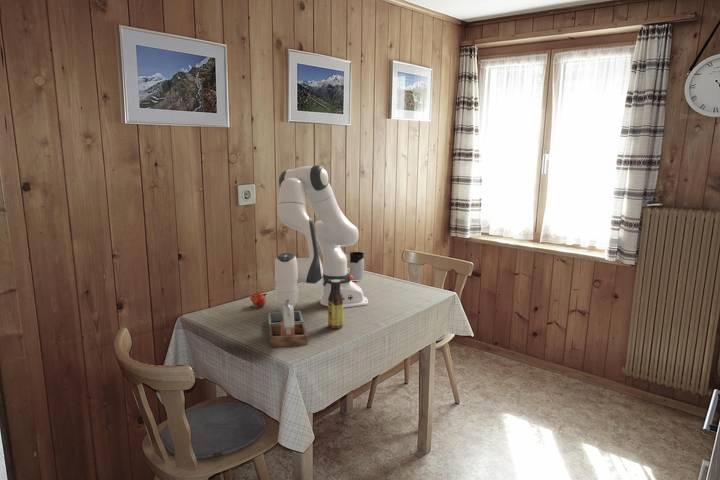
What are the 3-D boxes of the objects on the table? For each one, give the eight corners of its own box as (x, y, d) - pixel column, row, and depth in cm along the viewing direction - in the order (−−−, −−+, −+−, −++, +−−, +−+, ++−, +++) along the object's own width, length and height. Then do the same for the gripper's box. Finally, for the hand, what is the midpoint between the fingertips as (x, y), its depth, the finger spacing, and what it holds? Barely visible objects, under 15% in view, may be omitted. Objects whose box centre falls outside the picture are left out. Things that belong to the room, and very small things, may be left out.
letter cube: (293, 332, 197) (293, 319, 196) (294, 337, 192) (294, 324, 191) (280, 333, 196) (280, 320, 195) (281, 338, 191) (281, 325, 190)
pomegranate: (251, 315, 228) (269, 302, 227) (242, 302, 227) (259, 289, 226) (256, 311, 235) (272, 298, 234) (246, 299, 235) (263, 286, 234)
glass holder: (359, 282, 273) (359, 255, 270) (337, 279, 280) (337, 252, 277) (367, 279, 280) (367, 252, 278) (346, 275, 287) (345, 249, 285)
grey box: (300, 318, 216) (300, 310, 216) (303, 329, 203) (303, 321, 203) (268, 320, 214) (268, 312, 213) (269, 332, 201) (269, 323, 200)
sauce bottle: (327, 324, 210) (327, 278, 206) (342, 324, 210) (342, 277, 206) (328, 330, 203) (327, 282, 200) (343, 329, 204) (343, 282, 200)
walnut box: (304, 331, 202) (303, 322, 201) (307, 344, 189) (307, 335, 188) (269, 333, 199) (269, 325, 199) (270, 346, 186) (270, 338, 185)
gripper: (297, 304, 182) (298, 340, 184) (293, 288, 201) (294, 321, 204) (279, 305, 180) (281, 342, 183) (277, 289, 200) (278, 322, 203)
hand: (287, 331), depth 194 cm, fingers closed on letter cube, 5 cm apart
